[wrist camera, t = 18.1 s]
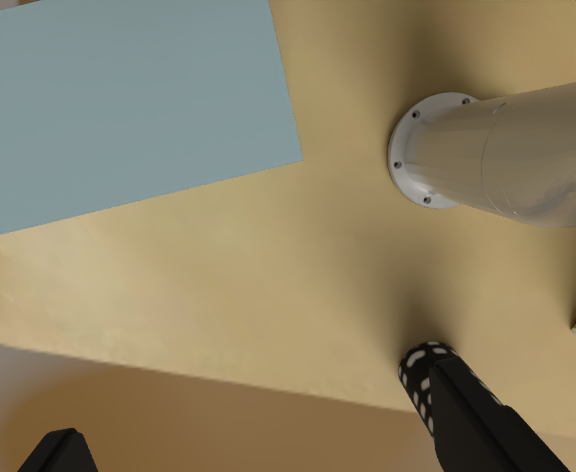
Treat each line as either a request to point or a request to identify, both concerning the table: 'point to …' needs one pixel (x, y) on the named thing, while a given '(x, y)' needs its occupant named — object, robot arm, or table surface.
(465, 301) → the table surface
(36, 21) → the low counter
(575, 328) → the juice carton
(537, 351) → the table surface
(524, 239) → the table surface
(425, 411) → the white-spotted black cylinder
